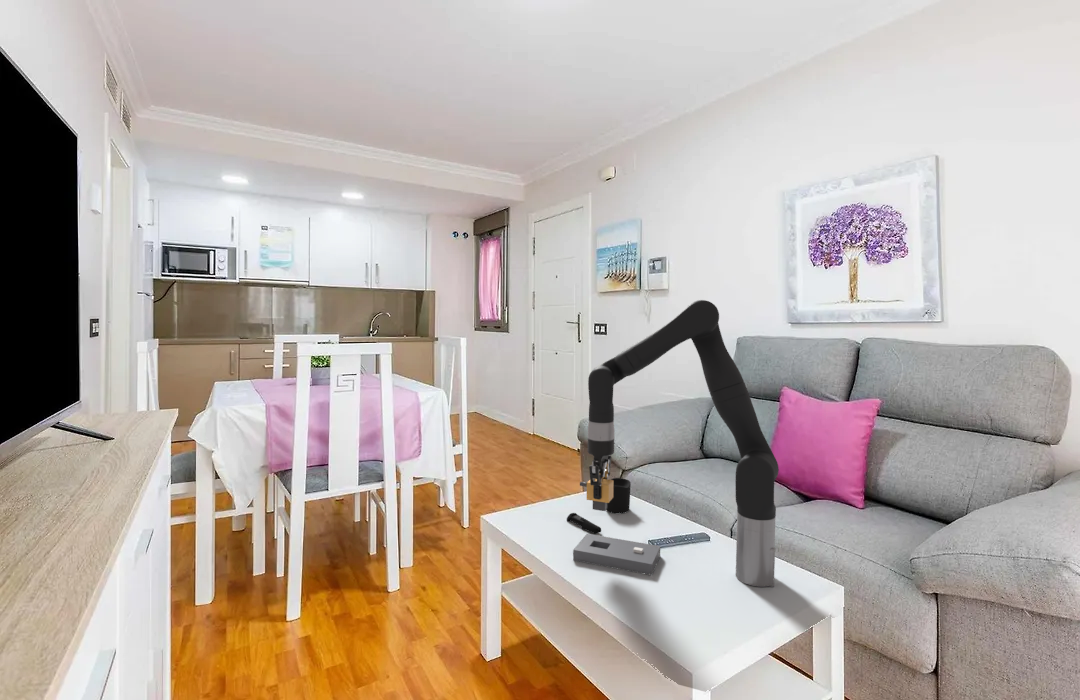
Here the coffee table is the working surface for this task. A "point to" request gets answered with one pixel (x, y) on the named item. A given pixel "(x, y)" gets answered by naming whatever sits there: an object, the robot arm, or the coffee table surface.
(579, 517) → the electric trimmer
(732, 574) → the coffee table surface
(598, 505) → the plug
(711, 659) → the coffee table surface
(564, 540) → the coffee table surface
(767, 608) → the coffee table surface
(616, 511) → the pen holder
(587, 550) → the socket board
